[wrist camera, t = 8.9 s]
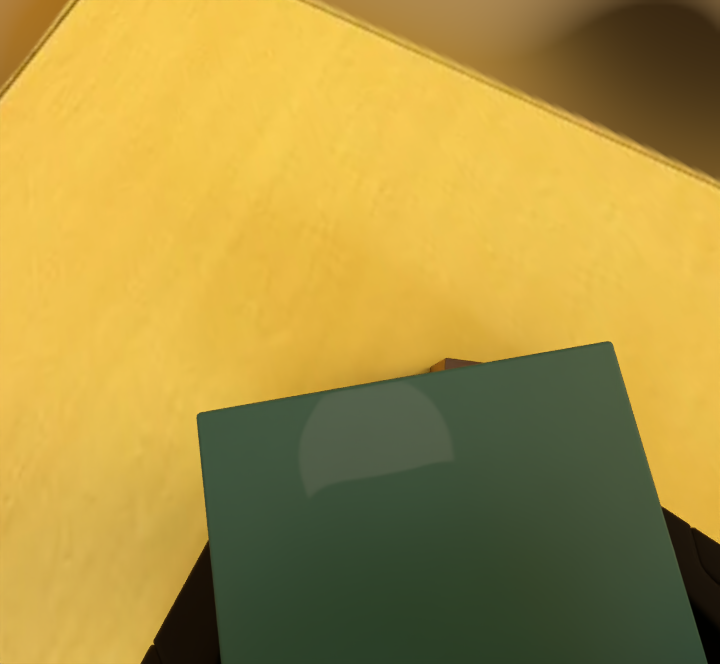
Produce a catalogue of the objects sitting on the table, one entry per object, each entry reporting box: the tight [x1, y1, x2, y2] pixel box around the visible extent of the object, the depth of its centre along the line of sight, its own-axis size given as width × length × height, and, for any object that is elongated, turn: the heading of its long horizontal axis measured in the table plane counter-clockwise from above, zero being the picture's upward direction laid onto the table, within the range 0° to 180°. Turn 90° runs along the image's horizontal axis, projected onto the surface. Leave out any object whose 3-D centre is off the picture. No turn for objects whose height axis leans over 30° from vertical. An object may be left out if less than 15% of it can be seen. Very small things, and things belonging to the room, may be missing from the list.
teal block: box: [197, 341, 708, 664], centre depth 9 cm, size 6×6×9 cm
